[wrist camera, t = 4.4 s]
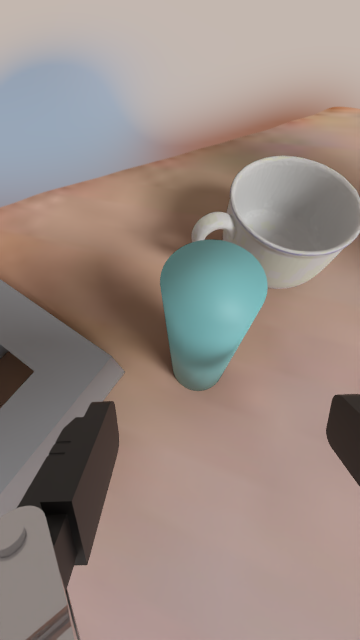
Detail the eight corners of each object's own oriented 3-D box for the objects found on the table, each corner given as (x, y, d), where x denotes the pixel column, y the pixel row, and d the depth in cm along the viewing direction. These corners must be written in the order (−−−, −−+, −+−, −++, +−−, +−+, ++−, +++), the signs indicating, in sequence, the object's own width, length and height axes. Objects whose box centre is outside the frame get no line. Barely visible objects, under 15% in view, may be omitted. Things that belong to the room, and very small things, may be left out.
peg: (189, 333, 23) (196, 225, 12) (231, 358, 22) (284, 267, 10) (162, 372, 22) (138, 293, 10) (206, 401, 21) (235, 350, 9)
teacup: (301, 221, 29) (339, 150, 22) (333, 300, 25) (395, 242, 17) (184, 229, 29) (184, 160, 22) (194, 311, 24) (198, 257, 17)
